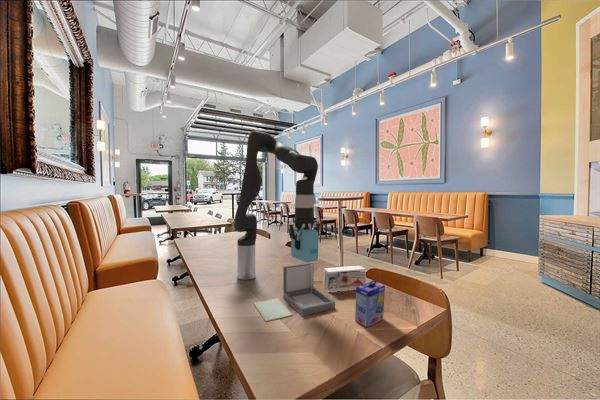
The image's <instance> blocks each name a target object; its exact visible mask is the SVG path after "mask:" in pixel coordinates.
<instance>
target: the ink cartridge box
mask: <svg viewBox="0 0 600 400" xmlns="http://www.w3.org/2000/svg"><path fill="white" fill-rule="evenodd" d="M377 281H378V279H377V278H376V279H374V280H372V281H368V282H366V284H362V285H360V286H357V287H356V290H355V315H354V317H355V318H354V321H355V322H357V323H359V324H360V325H361V326H363V327H366V328H368V327H371V326H372V325H374V324H376V323H378V322H381V321H382V320H383V319H384V311H385V291H386V290H385V289H386V285H385V284H382V283H380V282H377Z"/></svg>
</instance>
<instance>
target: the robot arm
mask: <svg viewBox="0 0 600 400" xmlns="http://www.w3.org/2000/svg"><path fill="white" fill-rule="evenodd" d="M246 145H247V146H246V156H245V157H246V159H245V164H244V165H245V166H244V172H243V177H242V180H241V181H242V182H241V189H240V194H239V200H238V205H237V207H236V208H237V209H236V211H235V215H234V220H233V226H234V231H236V232H238V233H245V234H244V235H242V236H241V237H239V238H238V239H237V246H236V247H237V248H236V249H237V251H236V252H237V257H236V259H237V263H236V264H237V269H236V271H237V273H236V274H237V276H236V277H237V279H239V280H246V281H247V280H252V279H254V278H256V241H257V232H258V231H257V230H258V219H257V217H256V214H254V213H247V212H248V210H249V208H250V206H251V205H252V203H253V202H254V201H255V200H256V198H257V197H258V196H259V194H260V192H261V187H262V182H263V179H262V178H263V176H262V174H261V172H260V169H259V167H258V155H259V153H270V154H272V155H274V156H275V158H276V159H277V160H278V161H280V162H281V163H283V164H285V165H287V167H289V169H291V170H292V171H293V172H296V173H297V174H298V173H299V174H303V176H302V178H301V179H298V180H297V181H296V182H295V197H294V198H295V199H294V222H292V223H288V224H287V231H288V233H289V234H288V235H289V238H290V239H294V240H295V248H296V250H300V241H299V239H300V236H301V235H302V230H305V229H312V228H313V230H316V231H317V232H318V234H319V232H320V228H321V222H316V221H314V218H315V196H314V185H315V182H316V178H317V175H318V168H319V165H318V164H319V163H318V161H317V159H316V157H315V156H311V155H303V154H300V153H299V151H298V150H297V149H294V148H292V147H291V146H288V145H286V144H283V143H282V142H280V141H279V140H278V139H276V138H275V137H273V135H271V134H270V133H268V132H263V131H259V130H253V131H251V132H250V133H249V135H248V139H247V144H246ZM294 228H297V229H298V231H299V232H297V229H296V232H295V233H294Z"/></svg>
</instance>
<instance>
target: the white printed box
mask: <svg viewBox="0 0 600 400" xmlns="http://www.w3.org/2000/svg"><path fill="white" fill-rule="evenodd" d="M322 275H323V276H322V277H323V278H322V280H323V281H322V282H323V284H322V288H323V289H324V288H325V289H326V290H327V291H328V292H331V293H338V292H337V291H340V292H346V291H347V292H348V290H349V291H356V287H357V286H360V285H362V284H366V283H367V273H366V268H365V267H363V266H361V265H350V266H349V265H348V266H336V267H325V268H323V274H322ZM325 289H324V290H325ZM326 290H325V291H326ZM327 291H326V292H327ZM328 292H327V293H328Z"/></svg>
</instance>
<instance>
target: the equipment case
mask: <svg viewBox="0 0 600 400" xmlns="http://www.w3.org/2000/svg"><path fill="white" fill-rule="evenodd" d="M314 266H315V265H314V262H308V263H307V262H306V263H301V264H294V265H287V266H285V265H284V266H283V267H282V268H283V271H282V273H283V277H282V278H283V280H282V281H283V284H282V286H283V288H282V289H283V293H282V294H283V295H282V297H283V299H284V300H285V301H287V302H288V303H289V305H291V307H292V308H294V310H296V312H297V313H298V314H300V315H301V317H304V316H308V315H309V316H310V315H313V314H317V313H321V312H325V311H330V310H334V309H336V302H335V301H334V299H332V298H330V297H329V296H327V295H326V294H324V293H323V292H321V291H320V290H319V289H317V288H316V287H314Z"/></svg>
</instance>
